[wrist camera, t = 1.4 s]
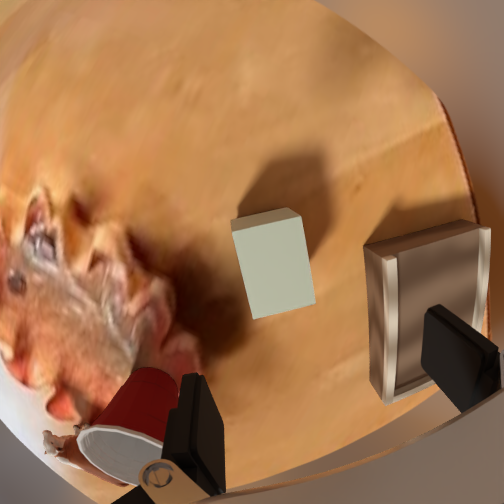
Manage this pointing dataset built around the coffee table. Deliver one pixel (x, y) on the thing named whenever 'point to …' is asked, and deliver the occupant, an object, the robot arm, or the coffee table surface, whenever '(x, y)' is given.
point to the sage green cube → (273, 261)
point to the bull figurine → (74, 454)
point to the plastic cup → (131, 426)
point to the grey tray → (420, 297)
